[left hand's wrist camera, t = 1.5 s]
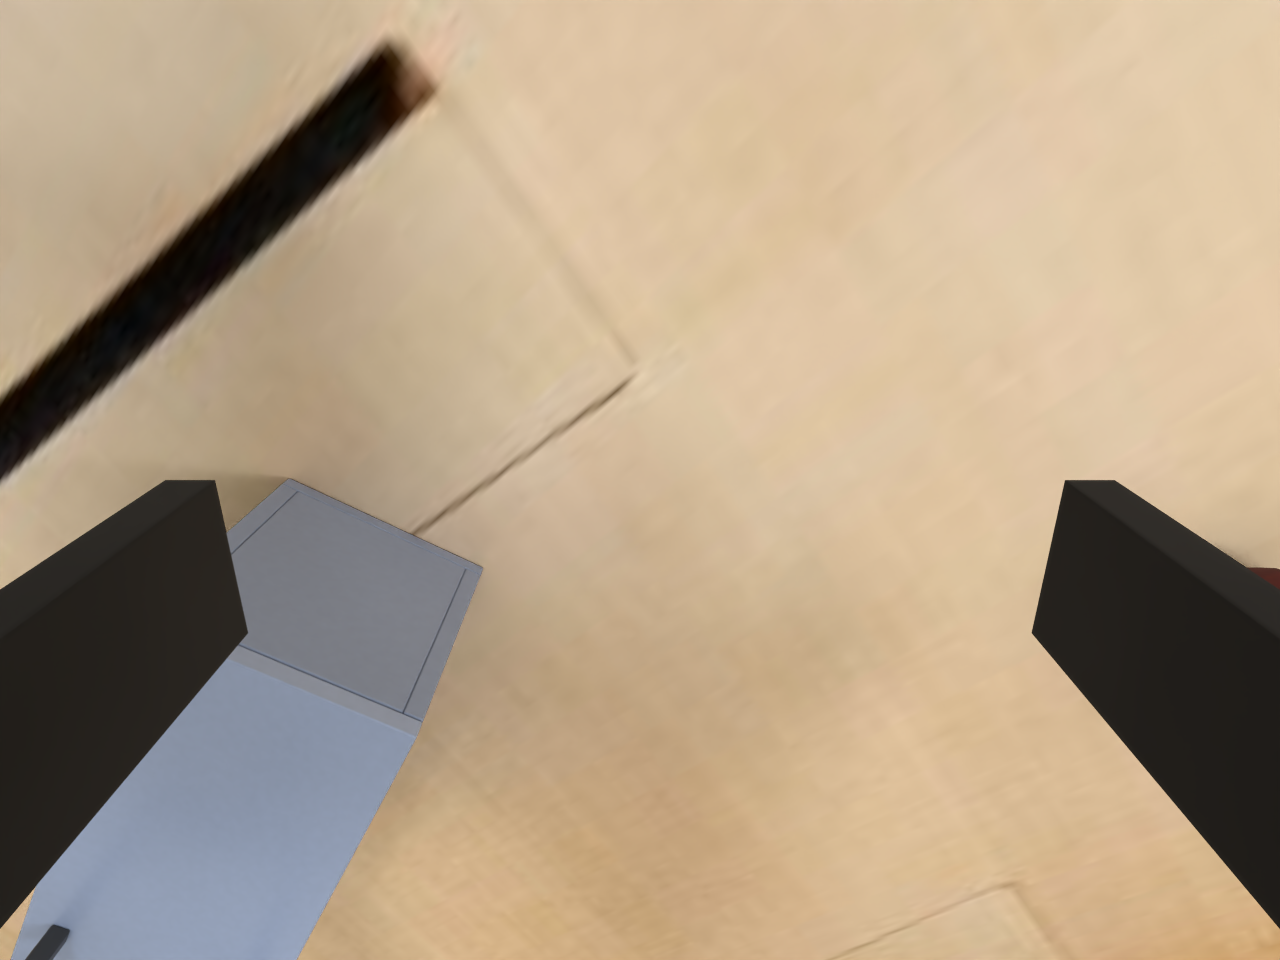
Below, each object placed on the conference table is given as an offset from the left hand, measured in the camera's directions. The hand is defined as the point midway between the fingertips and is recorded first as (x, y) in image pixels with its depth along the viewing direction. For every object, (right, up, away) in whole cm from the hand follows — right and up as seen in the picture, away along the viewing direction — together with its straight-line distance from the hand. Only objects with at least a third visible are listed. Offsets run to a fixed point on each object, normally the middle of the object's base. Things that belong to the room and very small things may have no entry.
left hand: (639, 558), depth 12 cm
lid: (-16, -12, +16) cm, 26 cm away
